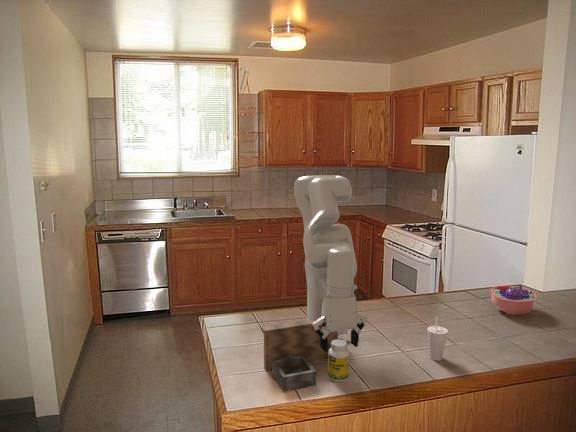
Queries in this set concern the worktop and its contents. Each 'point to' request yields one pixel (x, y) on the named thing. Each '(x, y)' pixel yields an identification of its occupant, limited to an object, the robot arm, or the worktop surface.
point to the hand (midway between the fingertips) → (339, 347)
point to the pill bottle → (338, 361)
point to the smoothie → (436, 341)
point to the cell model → (513, 299)
